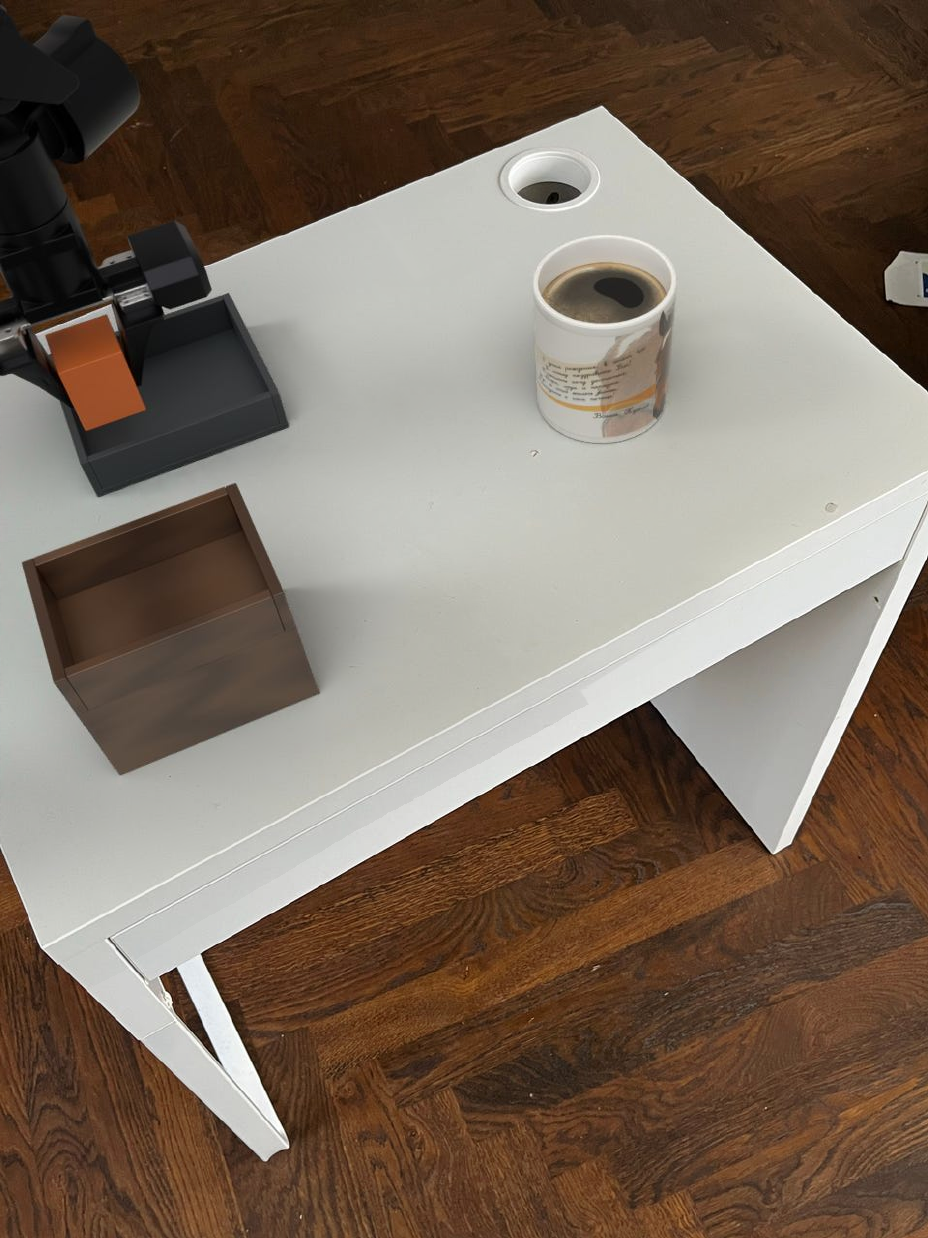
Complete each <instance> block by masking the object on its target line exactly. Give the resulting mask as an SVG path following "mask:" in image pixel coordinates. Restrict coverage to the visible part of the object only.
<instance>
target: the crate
mask: <svg viewBox="0 0 928 1238" xmlns="http://www.w3.org/2000/svg"><path fill="white" fill-rule="evenodd" d="M21 565H22V570H23V572H24V576H25V577H24V578H25V579H26V584H27V588H28V592H29V595H30V599H31V602H32V606H33V610H34V615H35V618H36V620H37V621H36V622H37V625H38V629H39V633H40V636H41V640H42V643H43V648H44V651H45V655H46V658H47V662H48V666H49V670H50V674H51V677H52V681H53V684H54V685H55V686H56V688H57V689H58V691H59V692H60V694H61V695H62V697H63V698H64V700H65V701H66V702H67V704H68V705H69V706H70V708H71V710H72V711H73V713H74V714H75V715H76V716H77V718H78V719H79V720H80V722H81V723H82V725H83V726H84V727H85V729H86V730H87V732H88V733H89V735H90V736H91V737H92V739H93V740H94V742H95V743H96V744H97V746H98V748H99V749H100V750H101V751H102V753H103V754H104V756H105V757H106V758H107V760H108V762H109V763H110V764H111V765H112V767H113V769H114V770H115V771H116V773H117V774H118V776H122V775H124V774H127V773H129V772H132V771H134V770H136V769H139V768H141V767H144V766H146V765H148V764H151V763H154V762H156V761H159V760H160V759H163V758H165V757H168V756H170V755H174V754H175V753H178V752H181V751H183V750H186V749H188V748H190V747H193V746H195V745H198V744H199V743H202V742H205V741H207V740H209V739H212V738H214V737H216V736H219V735H222V734H224V733H227V732H229V731H232V730H234V729H237V728H239V727H241V726H244V725H246V724H249V723H251V722H254V721H255V720H258V719H260V718H263V717H266V716H268V715H271V714H273V713H275V712H278V711H281V710H282V709H285V708H288V707H290V706H293V705H295V704H298V703H299V702H302V701H305V700H307V699H309V698H312V697H314V696H317V695H319V694H320V690H319V686H318V683H317V681H316V679H315V678H316V677H315V675H314V673H313V669H312V667H311V664H310V660H309V659H308V656H307V652H306V650H305V647H304V644H303V641H302V639H301V636H300V633H299V630H298V627H297V625H296V622H295V619H294V616H293V613H292V610H291V608H290V604H289V602H288V599H287V596H286V593H285V591H284V588H283V586H282V584H281V582H280V580H279V577H278V574H277V573H276V570H275V568H274V566H273V563H272V561H271V558H270V556H269V555H268V553H267V549H266V547H265V545H264V543H263V541H262V539H261V536H260V534H259V531H258V529H257V527H256V525H255V523H254V520H253V518H252V515H251V513H250V511H249V509H248V506H247V503H246V502H245V499H244V497H243V495H242V492H241V491H240V488H239V486H238V483H237V482H234V483H230V484H229V485H226V486H223V487H220V488H217V489H215V490H212V491H209V492H207V493H204V494H201V495H198V496H196V497H193V498H190V499H188V500H185V501H181V502H180V503H177V504H174V505H172V506H169V507H166V508H163V509H160V510H158V511H156V512H153V513H150V514H147V515H144V516H142V517H139V518H136V519H134V520H132V521H129V522H125V523H123V524H121V525H117V526H116V527H112V528H109V529H107V530H105V531H102V532H99V533H96V534H93V535H91V536H88V537H86V538H83V539H80V540H77V541H75V542H72V543H69V544H67V545H64V546H61V547H59V548H56V549H54V550H51V551H48V552H45V553H42V554H40V555H37V556H35V557H32V558H30V559H27V560H24V561H21Z"/></svg>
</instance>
